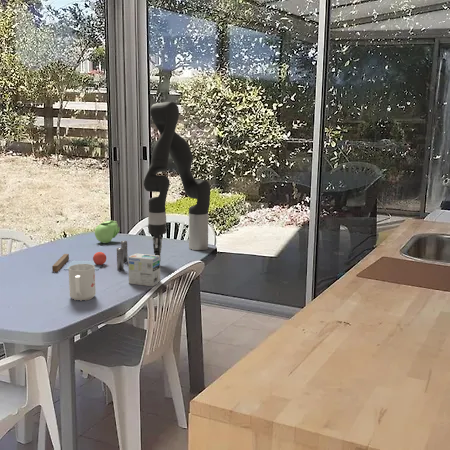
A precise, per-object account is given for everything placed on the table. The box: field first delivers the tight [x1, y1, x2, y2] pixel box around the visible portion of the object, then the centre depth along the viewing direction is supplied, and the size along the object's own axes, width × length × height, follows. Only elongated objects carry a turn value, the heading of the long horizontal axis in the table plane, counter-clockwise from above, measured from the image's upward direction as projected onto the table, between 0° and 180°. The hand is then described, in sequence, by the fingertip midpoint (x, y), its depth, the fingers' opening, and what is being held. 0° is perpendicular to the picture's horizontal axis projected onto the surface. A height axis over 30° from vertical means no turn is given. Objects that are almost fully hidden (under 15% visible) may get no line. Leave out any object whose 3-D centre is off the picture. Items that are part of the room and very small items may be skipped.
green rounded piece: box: [94, 219, 120, 244], centre depth 284 cm, size 12×11×11 cm
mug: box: [68, 264, 97, 302], centre depth 199 cm, size 12×9×11 cm
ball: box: [92, 251, 107, 266], centre depth 244 cm, size 6×6×6 cm
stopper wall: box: [51, 253, 70, 273], centre depth 243 cm, size 2×20×2 cm, turn 2°
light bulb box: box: [127, 252, 162, 287], centre depth 219 cm, size 11×7×11 cm, turn 71°
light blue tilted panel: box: [63, 260, 102, 271], centre depth 243 cm, size 14×14×1 cm
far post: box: [120, 240, 129, 263], centre depth 249 cm, size 3×3×9 cm
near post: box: [116, 247, 125, 271], centre depth 237 cm, size 3×3×9 cm
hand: (157, 262), depth 244 cm, fingers closed
